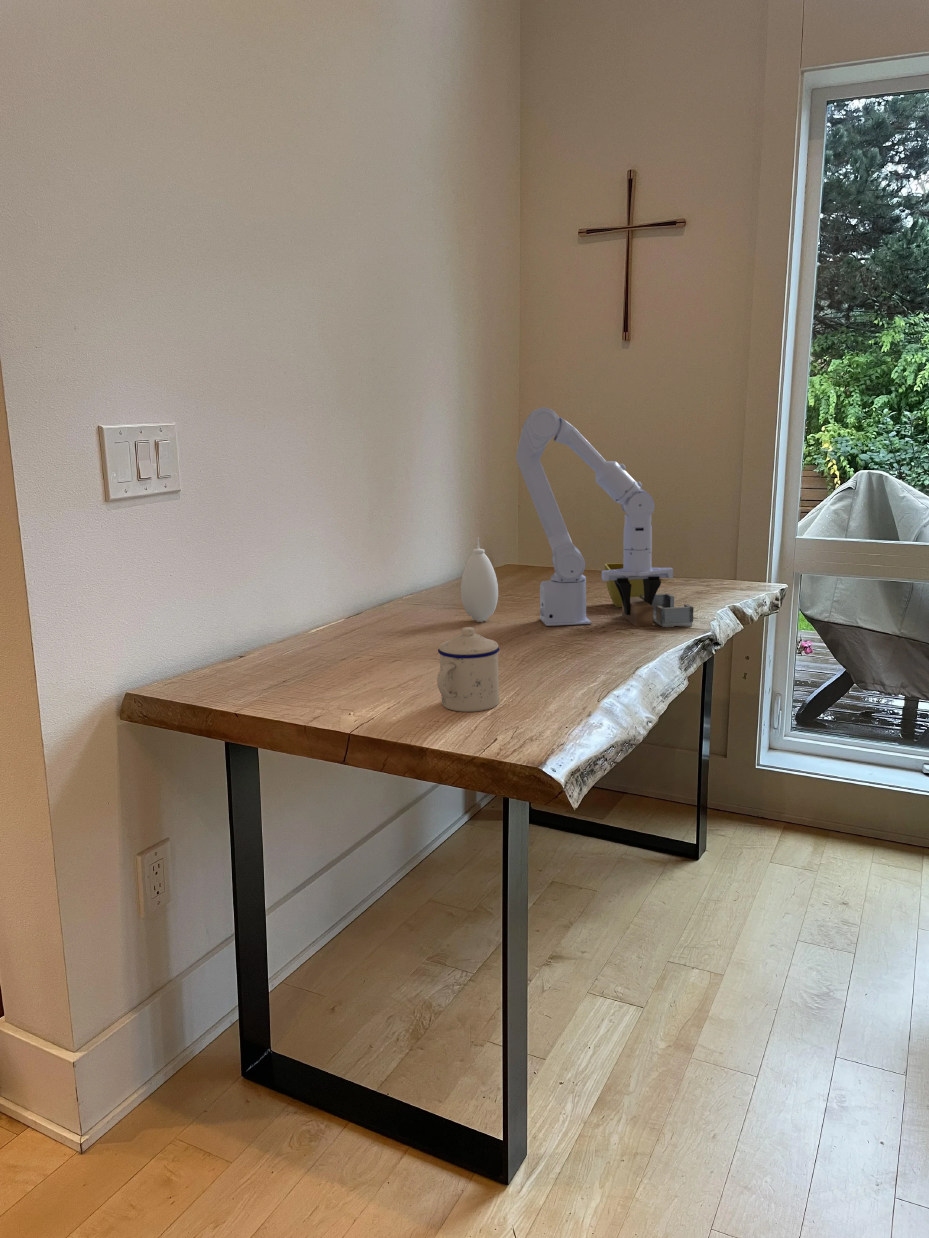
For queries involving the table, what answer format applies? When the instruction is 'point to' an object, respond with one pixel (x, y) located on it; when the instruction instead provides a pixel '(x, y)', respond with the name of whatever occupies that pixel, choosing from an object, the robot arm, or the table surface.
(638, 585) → the flower pot
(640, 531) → the robot arm
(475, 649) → the teacup with lid
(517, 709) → the table surface
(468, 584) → the white rubber air blower
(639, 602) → the block
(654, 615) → the bracket
